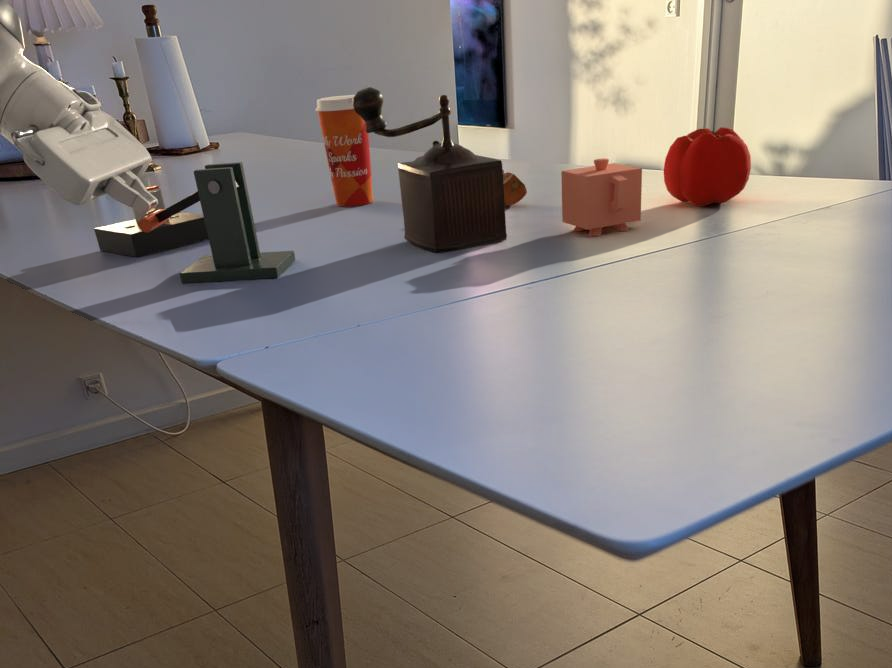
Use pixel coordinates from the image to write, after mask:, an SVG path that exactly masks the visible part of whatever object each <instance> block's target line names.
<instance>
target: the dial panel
mask: <svg viewBox="0 0 892 668" xmlns="http://www.w3.org/2000/svg"><path fill="white" fill-rule="evenodd" d="M93 231H94V234H95V238H96V241H97V245H98V248H99V251H100V252H105V253H110V254H111V253H112V254H117V255H122V256H128V257H134V258H140V257H143V256H148V255H152V254H155V253H160V252H164V251H167V250H172V249H177V248H180V247H184V246H188V245H192V244H196V243H200V242H204V241H209V238H208V234H207V230H206V225H205V221H204V216H203V214H199V213H190V212H183V211H181V212H179V213H177V214H175V215H173V216H171V217H170V218H169V220H168V221H167V222H166V223H164V224H162V225H160V226H159V227H157V228H155V229H153V230H152V231H150V232H144V231H142V230H141V229H140V227H139V224H137V223H136V220H135V219H131V220H126V221H121V222H116V223H112V224H108V225H105V226H104V225H103V226H98V227H95V228H93Z"/></svg>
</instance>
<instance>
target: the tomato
mask: <svg viewBox="0 0 892 668" xmlns="http://www.w3.org/2000/svg"><path fill="white" fill-rule="evenodd" d="M751 159H752V158H751V153H750V151H749V147H748V144H746V143H745V141H744V139H743V138H742V137H741V136H740V135H739V134H737V132H736V131H735V129H732V128H729V127H725V126H724V127H719V128H718V129H717V130H716V129H714V130H711V129H710V128H708V127H707V128H705V127H703V128H698V129H695V130H693V131H691V132H689V133H687V135H682V136H679V137H677V138H676V139H675V140H674V141H673V142H672V144H671V145H670V146H669V149H668V151H667V154H666V156H665V158H664V163H663V164H664V165H663V181H664V185H665V188H666V191H667V192H668V193H669V194H670V196H671V197H673V198H675V199H677V200H678V201H680V202H682V203H690V204H692V205H694V206H697V207H705V206H708V205H711V204H713V203H714V204H721V203H722V204H723V203H726V202H728V201H730V200H732V199H733V198H735V197H736V196H738V195H739V194H741V192H742V191H743V190H744V189H745V187H746V185H747V184H748V181H749V179H750V173H751V169H752V163H751Z"/></svg>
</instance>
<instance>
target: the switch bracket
mask: <svg viewBox="0 0 892 668" xmlns="http://www.w3.org/2000/svg"><path fill="white" fill-rule="evenodd" d="M226 167H227V168H226ZM193 176H194V181H195V184H196V190H197V191H198V194H199V198H200V201H199V202H200V207H201V212H202V215H203V216H204V221H205V225H206V230H207V234H208V238H209V239H208V243H209V248H210V251H211V255H203V256H202V257H200V258H199V259H197V260H196V261H194V262H193V263H192V264H190V265H189V266H187V267H186V268H184V269H183V270H182V271H181V272H179V277H180V281H181V284H193V283H212V282H227V281H228V282H229V281H245V280H247V281H248V280H263V279H265V280H266V279H277V278H279V277H280V276H281V275H282V274H284V272H285V271H286V270H287V269H288V268H289V267H291V265H292V264H293V263H294V262H295V261H296V255H295V254H296V253H295V250H280V251H279V250H278V251H264V252H261V251H260V246H259V241H258V236H257V230H256V226H255V220H254V216H253V215H254V214H253V210H252V204H251V200H250V194H249V190H248V186H247V180H246V175H245V169H244V164H243V162H242V161H239V162H237V161H236V162H226V163H225V162H224V163H222V162H221V163H211V164H210V163H209V164H206V165H204V168H201V169H195V170H193ZM235 179H236V181H237V183H238V185H239V187H238V188H237V187H236V182H235Z"/></svg>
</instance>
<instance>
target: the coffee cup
mask: <svg viewBox="0 0 892 668" xmlns="http://www.w3.org/2000/svg"><path fill="white" fill-rule="evenodd" d="M355 95H356V94H347V95H345V94H344V95H336V96H329V97H328V96H327V97H321V98H318V99H317V100H316V107H315V112H317V113H318V120H319V125H320V129H321V134H322V140H323V145H324V149H325V154H326V159H327V164H328V165H327V166H328V170H329V175H330V179H331V185H332V190H333V195H334V198H335V202H336V206H338V207H347V208H348V207H359V206H366V205H369V204H371V203H373V201H374V196H373V195H374V193H373V180H372V179H373V178H372V165H371V151H370V137H369V133H367V132H366V123H365V121H364V120H363V119H362V118H361V116H359V115H358V114H357V113H356V112H355V110H354V107H353V97H354V96H355Z"/></svg>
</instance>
